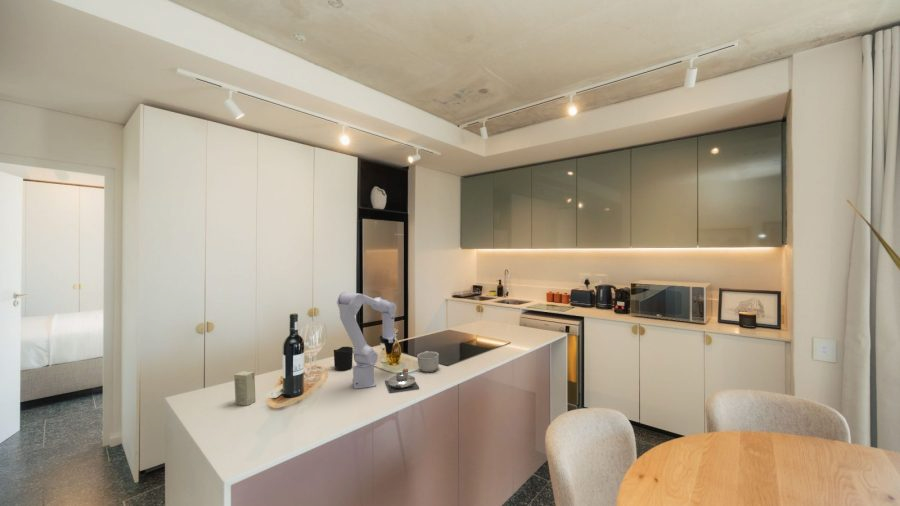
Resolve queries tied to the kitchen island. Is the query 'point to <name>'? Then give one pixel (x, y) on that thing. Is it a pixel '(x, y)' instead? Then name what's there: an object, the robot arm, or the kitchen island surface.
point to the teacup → (428, 361)
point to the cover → (401, 376)
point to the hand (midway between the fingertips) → (388, 353)
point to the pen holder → (343, 358)
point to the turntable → (397, 384)
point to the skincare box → (244, 388)
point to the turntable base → (394, 389)
